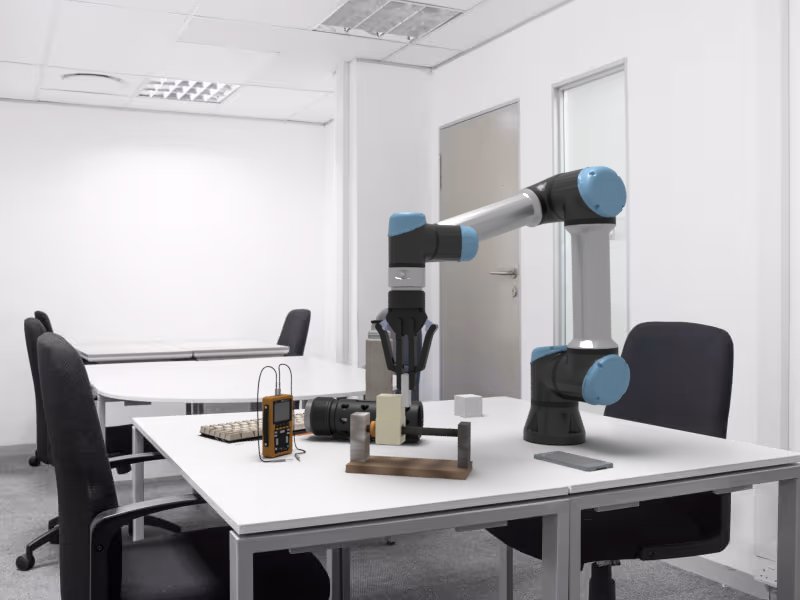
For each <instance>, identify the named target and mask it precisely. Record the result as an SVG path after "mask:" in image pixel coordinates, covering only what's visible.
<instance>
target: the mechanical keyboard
mask: <svg viewBox="0 0 800 600" xmlns="http://www.w3.org/2000/svg"><path fill="white" fill-rule="evenodd" d="M258 420H259V441H262V417H261V418H260V417H258ZM294 432H295V437H301V436H302V437H303V436H308V435H314V434H313V433H308V432H307V431H306V429H305V425H304V412H302V413H301V412H299V413H294ZM199 433H200V434H197V436H199V437H202V438H205V439H208V440H213V441H217V442H223V443H229V444H233V443H234V444H235V443H239V444H237V446H240V445H241V444H240V443H244V442H258V429H257V419H256V418H253V419H249V420H248V419H245V420H242V421H241V420H238V421H237V420H236V421H234V422H233V421H230V422H226V423H224V422H221V423H218V424H209V425H207V424H205V425H200V430H199ZM293 437H294V433H293Z"/></svg>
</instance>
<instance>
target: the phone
mask: <svg viewBox="0 0 800 600" xmlns="http://www.w3.org/2000/svg"><path fill="white" fill-rule="evenodd" d="M533 459H534V460H540V461H542V462H546V463H551V464H555V465H559V466H562V467H566V468H571V469H574V470H579V471H582V472H589V473H590V472H595V471H597V470H601V469H612V468H614V463H613V462H611V461H606V460H602V459H597V458H592V457H588V456H583V455H579V454H576V453H570V452H566V451H561V450H555V451H554V450H553V451H548V452H541V453H534V454H533Z"/></svg>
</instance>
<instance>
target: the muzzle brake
mask: <svg viewBox="0 0 800 600" xmlns="http://www.w3.org/2000/svg"><path fill="white" fill-rule="evenodd" d="M355 412H368V413H370V425H371V422H372V421H376V400H365V399H357V398H340V399H339V400H337V398H336V397H333V396H316V397H315V398H309V399H308V400H307V402H306V403H305V406H304V412H303V413H304V425H305V429H306V431H307V432H308V433H313V434H312V435H314V436H319V437H320V436H321V437H331V439H332V440H337V441H341V440H342V441H345V440H348V438H350V415H351V414H353V413H355ZM424 415H425V413H424V405H423V402H422V401H419V400H411V406H409V407H405V416H406V420H405V426H406V427H424V422H425V421H424V420H425V419H424V418H425V417H424ZM422 436H423V435H405V441H404V442H403V443H419V441H420V440H421V438H422ZM373 440H375V441H376V437H371V435H370V441H373Z"/></svg>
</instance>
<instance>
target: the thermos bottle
mask: <svg viewBox="0 0 800 600" xmlns="http://www.w3.org/2000/svg"><path fill="white" fill-rule="evenodd" d="M383 320H384V319H374V320H370V324H371V325H370V330H369V331H367V338H366V339H365V374H364V375H365V397H364V398H365V399H364V400H376V396H378V395H380V394H394V393H393V391H394V387H393V386H394V382H393V381H394V380H393V379H394V378H393V376H394V372H393V371H391V370H388V369H387V365H386V360H385V356H384V352H383V347H382V343H381V339H380V335H379V333H378V332H377V330H376V328H375V325H376V324H378V323H380V322H382V321H383ZM387 332H388V335H389V339H390V343H391V347H392V352H393V353H394V339H392V334H391V333H392V332H391V330H389V329H388V330H387Z"/></svg>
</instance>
